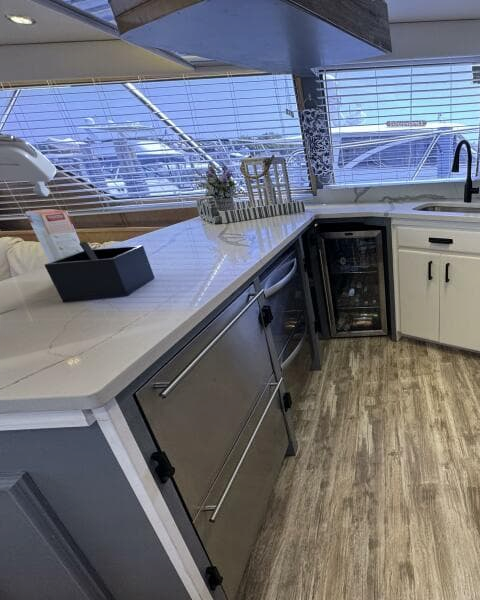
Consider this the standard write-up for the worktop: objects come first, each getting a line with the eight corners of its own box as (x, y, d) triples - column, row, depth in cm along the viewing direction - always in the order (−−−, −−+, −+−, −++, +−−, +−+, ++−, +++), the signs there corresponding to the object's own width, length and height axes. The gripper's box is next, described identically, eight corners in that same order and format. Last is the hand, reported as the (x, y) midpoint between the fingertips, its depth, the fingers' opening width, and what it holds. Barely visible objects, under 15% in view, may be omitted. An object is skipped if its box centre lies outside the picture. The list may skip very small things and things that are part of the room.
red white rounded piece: (126, 287, 87) (108, 243, 82) (96, 293, 83) (75, 248, 78) (124, 279, 94) (108, 238, 89) (96, 284, 90) (77, 242, 85)
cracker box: (99, 282, 95) (67, 209, 87) (72, 289, 90) (36, 213, 82) (83, 275, 102) (52, 207, 94) (57, 281, 97) (22, 210, 89)
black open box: (62, 302, 81) (43, 264, 77) (99, 283, 94) (85, 250, 90) (128, 295, 83) (112, 258, 80) (154, 278, 97) (143, 245, 93)
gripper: (28, 125, 61) (80, 185, 72) (-108, 118, 57) (-30, 182, 69) (12, 145, 58) (69, 204, 69) (-133, 140, 54) (-47, 203, 66)
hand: (19, 193), depth 69 cm, fingers open, 8 cm apart
